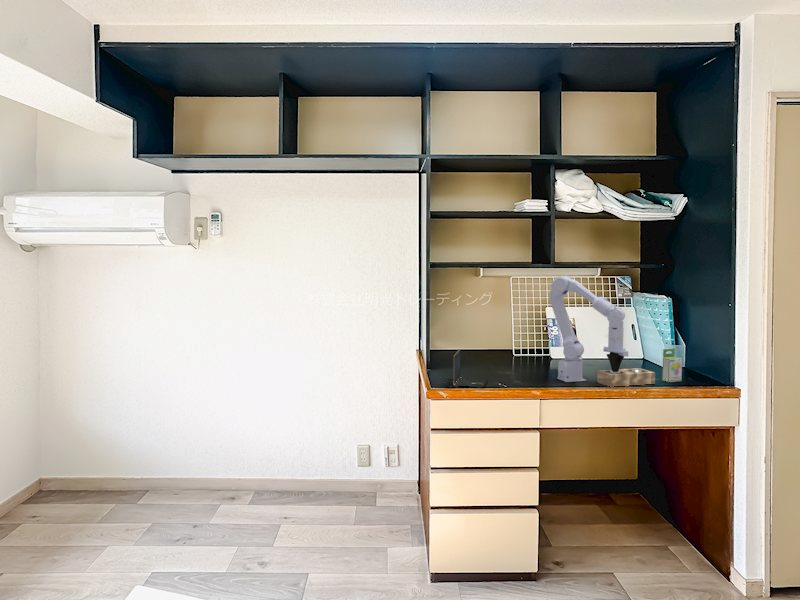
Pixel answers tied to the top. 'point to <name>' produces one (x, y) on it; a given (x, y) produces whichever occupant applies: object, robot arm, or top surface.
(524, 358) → the top surface
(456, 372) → the laptop
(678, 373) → the ink box
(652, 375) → the maple peg block
